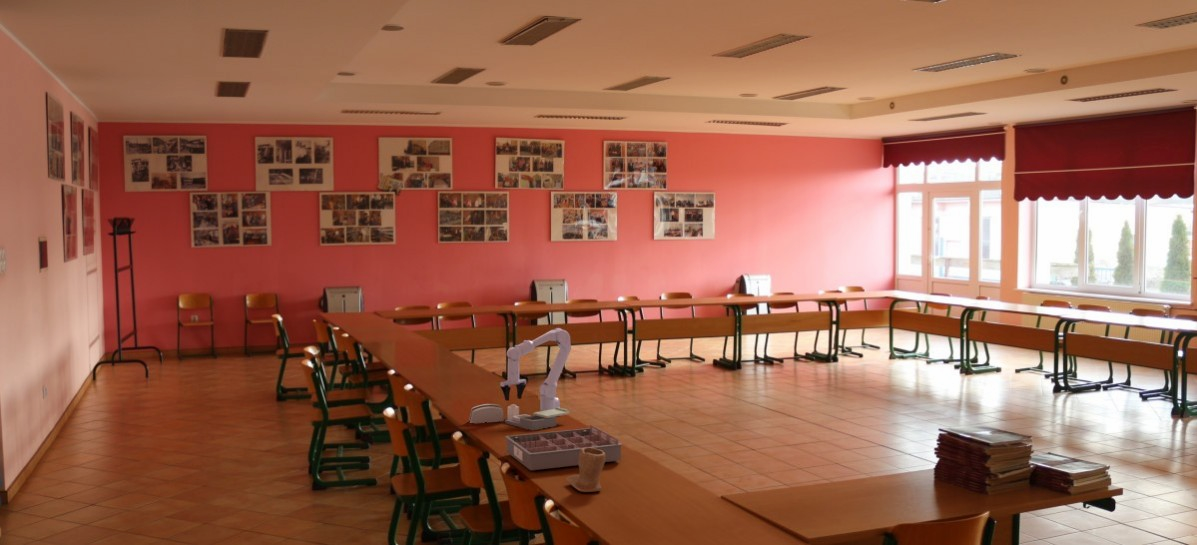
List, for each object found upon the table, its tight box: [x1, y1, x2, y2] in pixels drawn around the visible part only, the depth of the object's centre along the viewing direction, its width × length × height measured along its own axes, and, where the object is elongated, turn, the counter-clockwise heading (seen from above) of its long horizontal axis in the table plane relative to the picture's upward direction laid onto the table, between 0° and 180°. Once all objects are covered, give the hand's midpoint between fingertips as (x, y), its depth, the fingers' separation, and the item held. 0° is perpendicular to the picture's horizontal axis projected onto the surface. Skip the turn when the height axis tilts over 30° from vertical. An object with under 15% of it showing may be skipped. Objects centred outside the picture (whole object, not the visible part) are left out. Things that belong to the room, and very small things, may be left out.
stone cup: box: [566, 447, 606, 493], centre depth 345 cm, size 15×12×15 cm
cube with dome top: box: [507, 403, 520, 419], centre depth 463 cm, size 4×4×7 cm
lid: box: [532, 407, 570, 419], centre depth 450 cm, size 14×10×2 cm
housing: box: [504, 413, 557, 432], centre depth 449 cm, size 14×22×4 cm, turn 42°
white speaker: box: [468, 403, 505, 424], centre depth 455 cm, size 17×5×10 cm, turn 110°
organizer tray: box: [504, 423, 623, 471], centre depth 387 cm, size 32×40×10 cm
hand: (513, 399), depth 462 cm, fingers open, 7 cm apart
